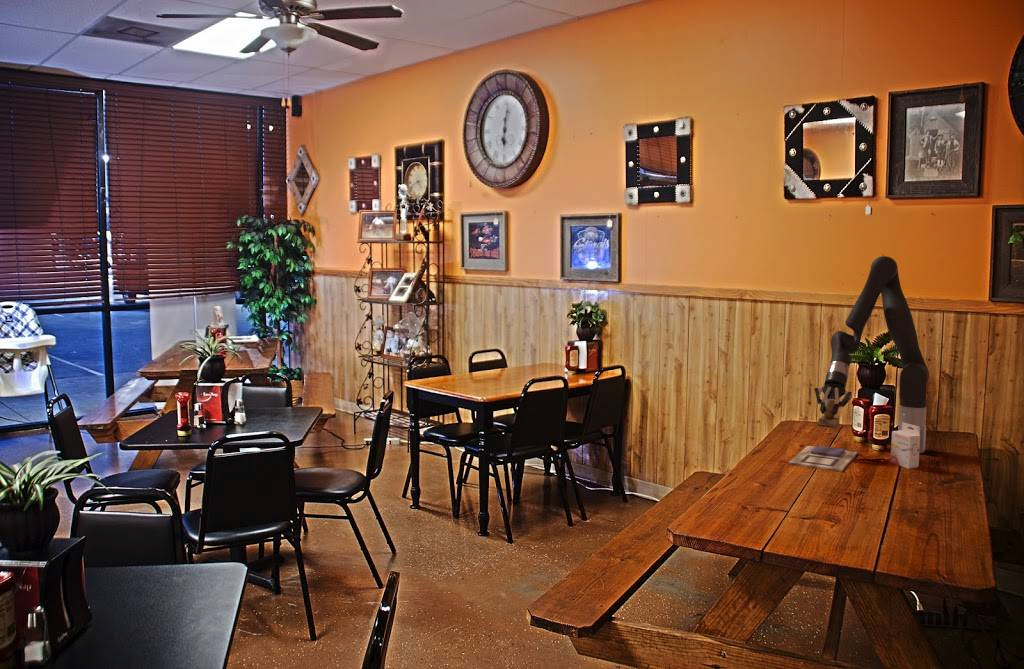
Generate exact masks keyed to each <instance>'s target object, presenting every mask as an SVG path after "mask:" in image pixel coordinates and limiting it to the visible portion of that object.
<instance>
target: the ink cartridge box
mask: <svg viewBox="0 0 1024 669" xmlns="http://www.w3.org/2000/svg"><path fill="white" fill-rule="evenodd" d="M908 427H912V428H914V430H912V429H908ZM919 449H920V427H919V426H915V425H911V424H908V423H904V422H902V430H899V431H898V430H893V431H892V430H891V443H890V461H889V462H890V464H894V465H896V466H899V467H902V468H906V469H909V470H910V469H916V468H919V464H920V462H919V461H920V453H919Z"/></svg>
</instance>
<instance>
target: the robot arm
mask: <svg viewBox="0 0 1024 669" xmlns="http://www.w3.org/2000/svg"><path fill="white" fill-rule="evenodd" d="M880 295H881V300H882V301H881V302H882V309H883V317H884V320H885V323H886V327H887V330H888V333H889V336H890V338H891V340H892V341H893V344H894V346H895V347H896V349H897V351H898V354H899V356H900V363H901V366H902V370H901V372H900V375H899V391H898V396H899V397H898V398H899V409H898V411H899V412H898V427H897V429H898V430H897V431H899V430H902V422H904V423H908V424H911V425H915V426H919V427H920V449H919V454H923V453H924V452H925V451H926V439H927V438H926V436H927V425H926V423H927V410H928V409H927V408H928V407H927V406H928V405H927V404H928V400H927V388H928V386H927V385H928V381H929V379H930V372H929V369H928V366H927V364H926V362H925V359H924V357H923V355H922V352H921V348H920V344H919V340H918V334H917V330H916V325H915V322H914V318H913V315H912V312H911V309H910V306H909V304H908V302H907V299H906V297H905V295H904V292H903V290H902V286H901V282H900V276H899V268H898V264H897V262H896V260H895V259H894V258H892V257H890V256H886V255H882V256H879V257H876V258H875V259H874V260H873V261H872V263H871V264H870V270H869V274H868V276H867V279H866V282H865V284H864V287H863V289H862V290H861V292H860V295H859V296H858V298H857V300H856V301H855V303H854V304H853V305H852V308H851V311H850V312H849V314H848V316H847V318H846V320H845V325H846V326H847V327H848V328H850V329H851V330H852V331H853V335H852V334H850V333H847V332H845V331H842V330H837V331H835V332H834V333H833V334H832V336H831V339H830V349H831V359H830V363H829V366H828V368H827V372H826V376H825V379H824V384H823V386H822V387H821V388H818V387H815V388H814V392H815V398H816V402H817V404H818V405H820V407H819V410H820V411H819V412H820V413H821V414H822V415H824V410H825V400H834V401H835V404H834V408H833V415H834V416H836V415H837V414H838V413H839V412H838V411H839V408H840V407H842V408H844V407H845V406H847V404H848V403H849V401H850V400H851V399H852V398H853V393H852V391H847V390H846V386H847V382H848V379H849V375H850V374H849V373H850V366H851V362H852V356H851V355H853V354H856V353H857V352H858V351H859V348H860V346H861V340H862V335H863V333H864V329H865V326H866V325H867V322H868V321H869V319H870V318H871V315H872V313H873V311H874V308H875V306H876V303H877V302H878V299H879V297H880ZM822 393H823V397H822V399H821V396H820V395H821V394H822ZM843 396H844V397H843ZM842 397H843V398H842ZM840 398H842V399H841V401H840ZM908 429H912V430H914V428H912V427H908Z"/></svg>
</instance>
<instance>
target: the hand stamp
mask: <svg viewBox="0 0 1024 669" xmlns="http://www.w3.org/2000/svg"><path fill="white" fill-rule="evenodd" d="M834 404H835V400H834V399H829V400H825V410H824V414H823V415H822V416H820V417H819V418H818V421H817V422H818V423H817V427H821V428H823V427H824V428H829V429H836V428H837V427H839V424H840V417H835V415H833V408H834Z"/></svg>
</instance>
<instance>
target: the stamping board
mask: <svg viewBox="0 0 1024 669" xmlns="http://www.w3.org/2000/svg"><path fill="white" fill-rule="evenodd" d="M857 455H858V451H850V450H846V448H840V447H839V448H838V447H831V446H824V445H816V446H815V445H814V446H812V445H807V446H805V447H804V448H803V449H802V450H801V451H800V452H799V453H798V454H796V455H795V456H793V458H792V459H790V460H789V461H788V465H791V466H797V467H798V466H799V467H804V468H812V469H819V470H824V471H832V472H843V471H844V470H845V469H846V467H847V466H849V464H850V463H851V462H852V461H853V460H854V458H855V457H856V456H857Z"/></svg>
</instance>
